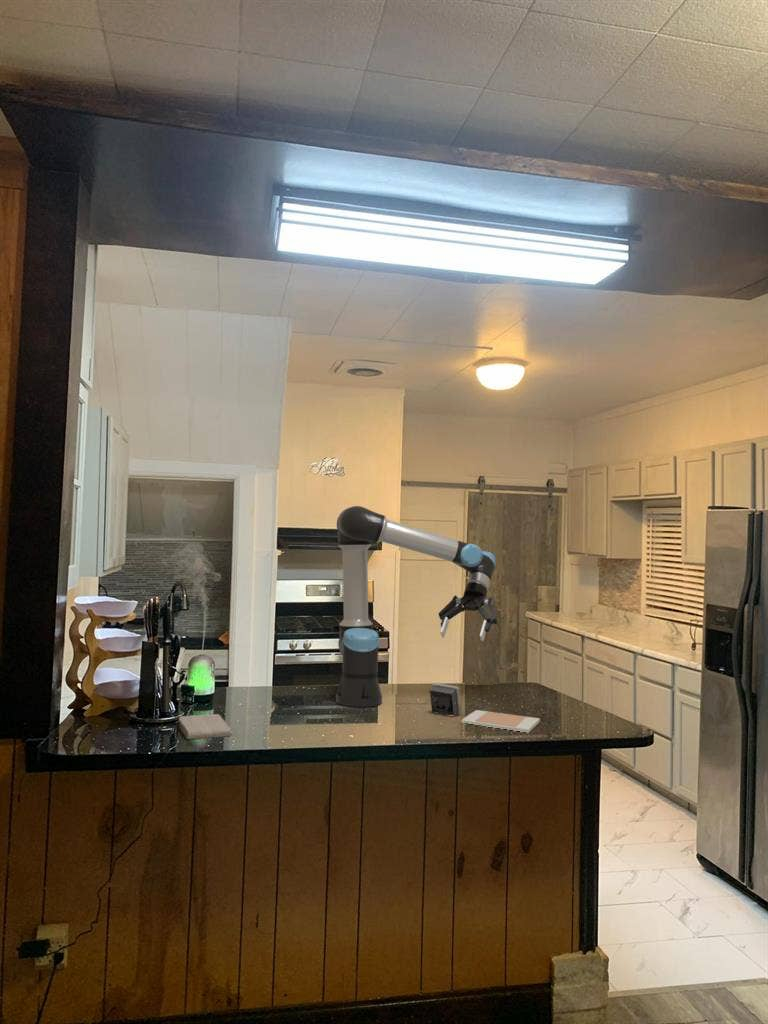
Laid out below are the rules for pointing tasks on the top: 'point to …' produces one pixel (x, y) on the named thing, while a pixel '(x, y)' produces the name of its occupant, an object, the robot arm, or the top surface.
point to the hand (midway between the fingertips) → (461, 636)
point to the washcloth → (204, 726)
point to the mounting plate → (501, 721)
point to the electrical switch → (445, 699)
